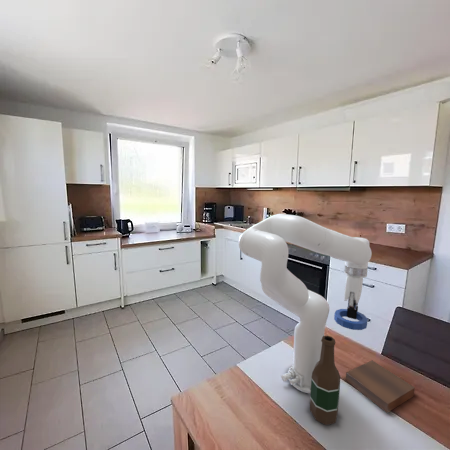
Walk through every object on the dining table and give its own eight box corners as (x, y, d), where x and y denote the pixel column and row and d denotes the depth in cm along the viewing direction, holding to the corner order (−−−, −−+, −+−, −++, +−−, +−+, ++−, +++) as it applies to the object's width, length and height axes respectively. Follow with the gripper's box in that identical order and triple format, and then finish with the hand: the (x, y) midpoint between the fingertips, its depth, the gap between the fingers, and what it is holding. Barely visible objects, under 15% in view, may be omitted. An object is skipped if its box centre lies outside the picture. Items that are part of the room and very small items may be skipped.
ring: (353, 332, 83) (353, 326, 83) (328, 318, 93) (328, 312, 92) (373, 325, 87) (374, 319, 87) (347, 312, 97) (348, 306, 97)
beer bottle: (341, 428, 67) (347, 348, 63) (311, 423, 68) (316, 345, 65) (334, 404, 74) (339, 332, 71) (307, 400, 76) (311, 329, 73)
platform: (387, 413, 72) (388, 404, 71) (345, 380, 84) (346, 372, 84) (414, 396, 78) (415, 387, 77) (371, 367, 90) (372, 360, 90)
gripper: (348, 263, 99) (344, 306, 102) (340, 274, 87) (337, 322, 89) (369, 266, 95) (365, 311, 98) (364, 278, 82) (360, 329, 85)
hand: (352, 316), depth 93 cm, fingers closed on ring, 2 cm apart
